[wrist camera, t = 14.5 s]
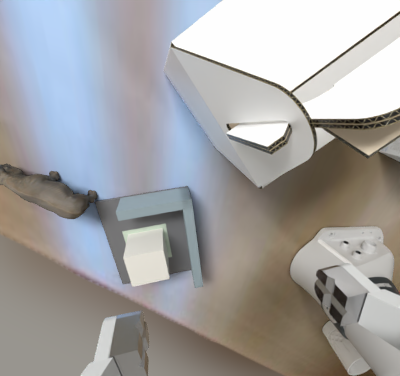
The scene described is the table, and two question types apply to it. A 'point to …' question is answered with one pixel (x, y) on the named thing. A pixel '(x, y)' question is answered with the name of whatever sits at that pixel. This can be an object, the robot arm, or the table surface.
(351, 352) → the white cup
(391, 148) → the light bulb box
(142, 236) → the block
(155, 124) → the table surface
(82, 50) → the table surface
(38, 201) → the rhino figurine
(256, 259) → the table surface
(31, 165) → the table surface
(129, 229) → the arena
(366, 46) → the gable box
